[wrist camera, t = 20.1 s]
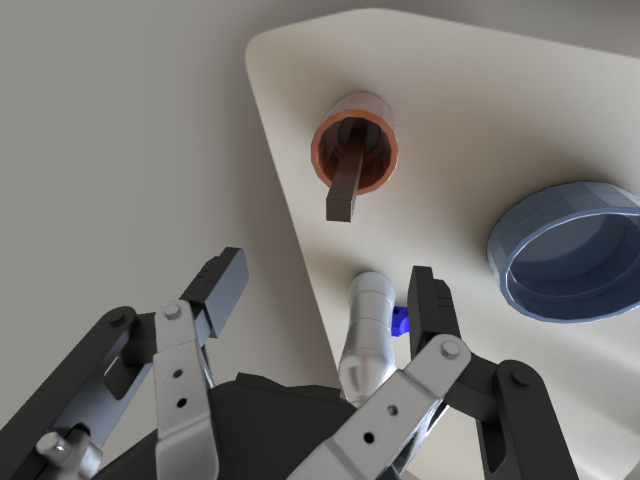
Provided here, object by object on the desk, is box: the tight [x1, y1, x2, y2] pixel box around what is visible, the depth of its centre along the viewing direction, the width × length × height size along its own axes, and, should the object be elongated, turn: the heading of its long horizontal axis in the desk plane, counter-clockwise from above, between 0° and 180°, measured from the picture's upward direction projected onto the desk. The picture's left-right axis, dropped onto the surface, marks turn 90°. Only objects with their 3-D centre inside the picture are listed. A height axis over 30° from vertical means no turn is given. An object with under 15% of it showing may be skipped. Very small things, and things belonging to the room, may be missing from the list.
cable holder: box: [391, 307, 409, 337], centre depth 46 cm, size 8×4×4 cm, turn 94°
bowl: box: [487, 182, 640, 324], centre depth 34 cm, size 15×15×6 cm
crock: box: [311, 92, 399, 195], centre depth 30 cm, size 8×8×8 cm
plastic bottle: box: [338, 272, 396, 409], centre depth 37 cm, size 6×7×20 cm
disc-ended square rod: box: [326, 117, 381, 222], centre depth 26 cm, size 4×4×17 cm
